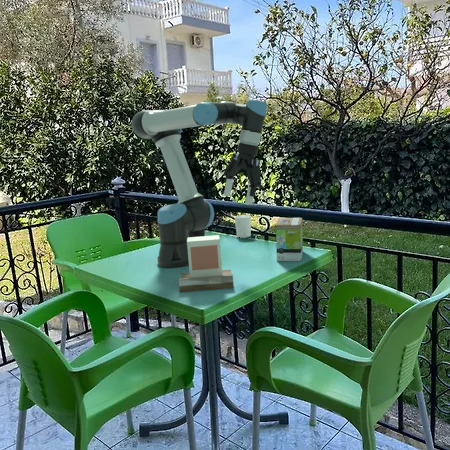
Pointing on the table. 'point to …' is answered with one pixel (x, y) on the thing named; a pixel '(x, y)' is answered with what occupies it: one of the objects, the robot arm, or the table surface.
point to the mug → (197, 233)
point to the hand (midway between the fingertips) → (237, 200)
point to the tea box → (289, 239)
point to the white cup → (243, 225)
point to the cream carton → (204, 256)
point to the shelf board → (206, 282)
